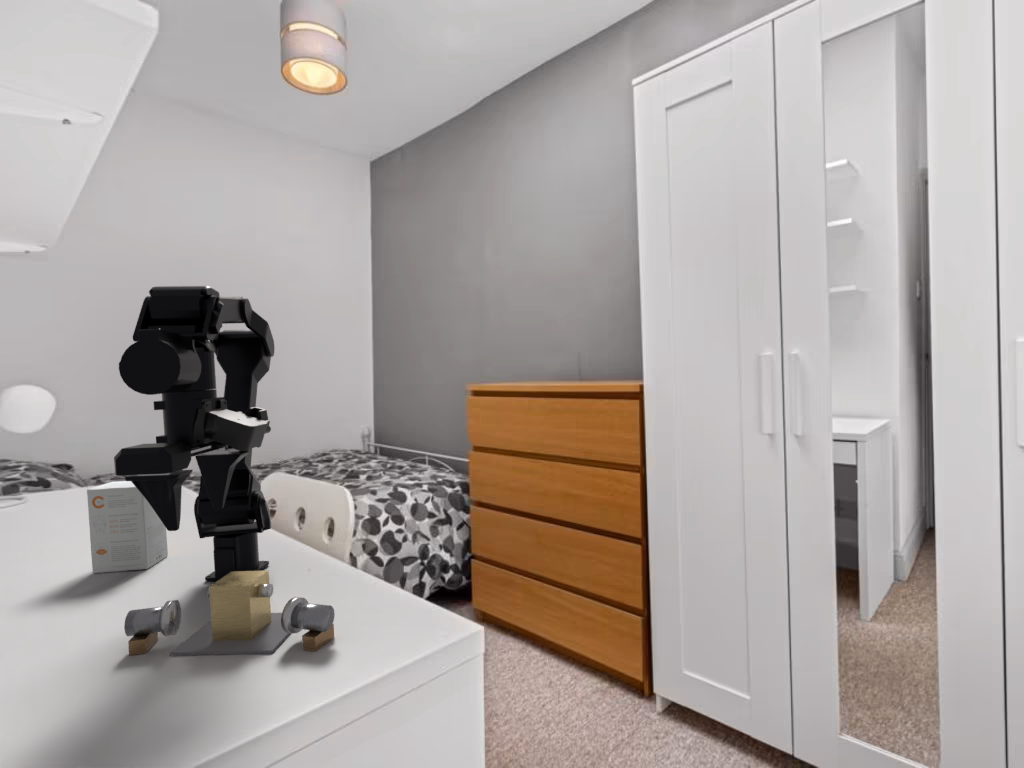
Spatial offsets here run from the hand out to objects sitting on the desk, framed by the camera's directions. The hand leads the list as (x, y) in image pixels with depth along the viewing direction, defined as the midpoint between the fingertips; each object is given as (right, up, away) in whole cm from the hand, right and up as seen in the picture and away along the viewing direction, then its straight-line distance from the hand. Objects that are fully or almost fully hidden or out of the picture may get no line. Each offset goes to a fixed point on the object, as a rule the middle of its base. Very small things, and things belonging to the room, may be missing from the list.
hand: (197, 518), depth 67 cm
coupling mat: (+8, -12, -5) cm, 15 cm away
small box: (-22, -13, +20) cm, 32 cm away
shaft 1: (-1, -12, -7) cm, 14 cm away
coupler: (+8, -11, -5) cm, 15 cm away
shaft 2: (+17, -11, -8) cm, 21 cm away
